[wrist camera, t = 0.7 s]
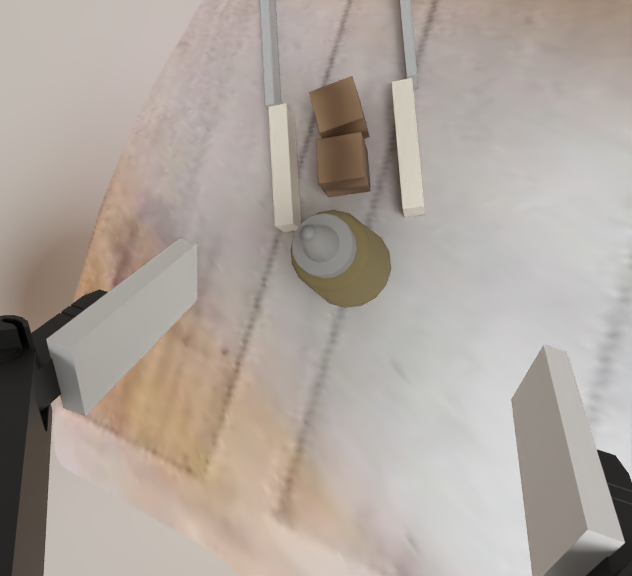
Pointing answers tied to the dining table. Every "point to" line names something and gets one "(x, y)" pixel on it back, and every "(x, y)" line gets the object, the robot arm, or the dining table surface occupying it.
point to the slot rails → (287, 165)
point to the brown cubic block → (343, 164)
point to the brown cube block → (338, 109)
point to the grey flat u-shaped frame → (273, 58)
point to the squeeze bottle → (340, 258)
